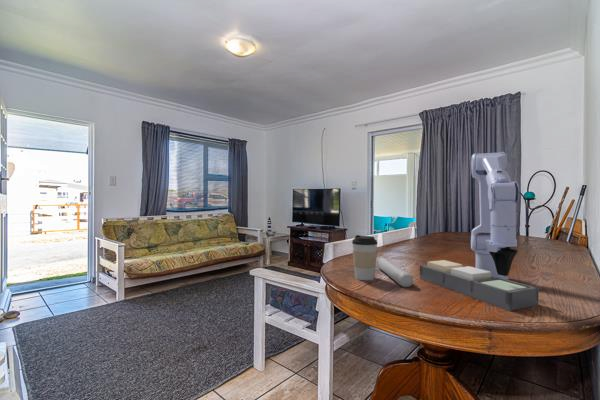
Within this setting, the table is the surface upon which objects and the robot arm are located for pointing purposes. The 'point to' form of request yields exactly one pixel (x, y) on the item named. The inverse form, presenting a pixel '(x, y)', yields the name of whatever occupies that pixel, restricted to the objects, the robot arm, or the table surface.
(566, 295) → the table surface
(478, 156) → the robot arm
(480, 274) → the middle key
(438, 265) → the sand key
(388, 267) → the tube
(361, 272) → the coffee cup
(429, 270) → the grey button box
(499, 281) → the sage key
